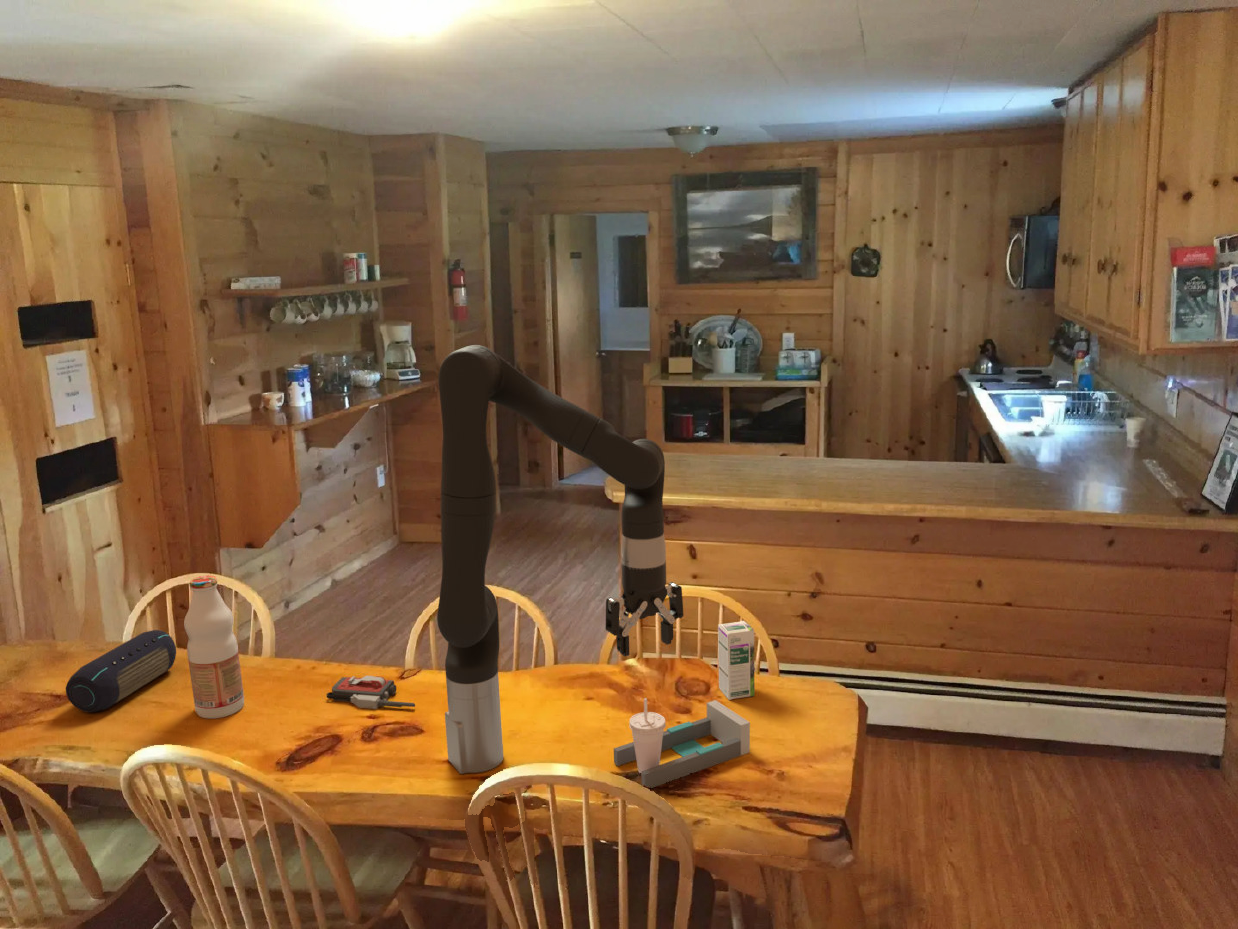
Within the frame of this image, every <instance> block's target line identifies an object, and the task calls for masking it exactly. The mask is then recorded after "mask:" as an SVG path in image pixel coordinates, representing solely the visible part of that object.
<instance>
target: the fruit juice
mask: <svg viewBox="0 0 1238 929" xmlns="http://www.w3.org/2000/svg"><path fill="white" fill-rule="evenodd" d="M189 584H190V585H189V586H190V590H192V595H191V599H190V604H189V607H188V611H187V613H186V615H185V617H184V622H183V623H184V626H183V627H184V631H185V633H186V634H187V637H188V642H187V645H186V653H187V661H188V666H189V667H188V668H189V674H190V680H191V688H192V689H191V690H192V696H193V704H194V709H195V713H196V714H197V715H198V716H199V717H200V718H202V719H221V718H225V717H229V716H232V715H233V714H236V713H237V712H239V711H241V709H242V708H243V707H244V706H245V693H244V688H243V687H244V686H243V677H242V670H241V662H240V654H239V647H238V645H239V644H238V641H237V640H238V639H237V638H236V636H235V634H234V631H233V626H234V616H233V615H234V614H233V612H232V610H231V608H229V607H228V606H227V605H226V603H225V601H224V599H223V598H222V595H221V594H220V592H219V591H218V589H217V587H218V579H217V577H216V576H214V575H209V574H208V575H201V576H196V577H194V578H193V579H191V580H190V582H189Z"/></svg>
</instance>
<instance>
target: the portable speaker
mask: <svg viewBox="0 0 1238 929" xmlns="http://www.w3.org/2000/svg"><path fill="white" fill-rule="evenodd" d="M176 656H177V647H176V644H175V641H174V640H173V637H172V636H171V635H169V634H168V633H167V632H166V631H163V630H161V629H152V630H149V631H148V630H147V631H144V632H142V633H140V634H137V635H136V636H135V637H133V638H130V639H129V640H127V641H125V642H124V643H122V644H120V645H118V646H115V648H113V649H111V650H110V651H107V652H106V653H104V654H102V655H101V656H99V657H97V658H95V659H94V660H92V661H90V662H88V663H86V664H84V665H82V666H80V667H79V669H78V670H76V672H74V673H73V674H71V676H70V677H69V679H68V681H67V683H66V686H65V695H66V697H67V699H68V701H69V702H70V703H71V704H72V706H73V707H75V708H77V709H78V710H80V711H82V712H85V713H95V712H96V713H97V712H100V711H104V710H107V709H110V708H111V707H112V706H114V705H115V704H116V703H119V701H121V700H124V698H126V697H128V696H129V695H131V694H133V693H134V692H136V691H137V690H139V689H140V688H142V687H144V686H145V685H147V684H148V683H150V682H152V681H153V680H155V679H156V678H158V677H160V676H161V675H163V674H164V673H166V672H168V671H169V670H170V669H172V667H173V665H174V663H175V661H176Z"/></svg>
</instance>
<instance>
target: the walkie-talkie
mask: <svg viewBox="0 0 1238 929" xmlns="http://www.w3.org/2000/svg"><path fill="white" fill-rule="evenodd" d="M396 694H397V685H396V684H395V680H392V679H386V678H384V677H383V676H375V675H364V676H363V677H356V676H355V675H353V676H352V677H351V676H349V677H348V676H345V677H341V678H340V679H339V680H338V681H337V682H336V683H335V684H334V685H333V686H332V688H331V691H330V692H327V693H326V695H325V696H326V698H327V699H331V700H333V701H334V702H344V703H352V704H353V705H355V707H357V708H360V709H361V708H362V709H372V710H377V709H378V708H380V707H395V708H402V707H410V708H411V707H412V708H416V704H415V703H414V702H406V701H393V700H388V699H389V698H390V697H391V696H395V695H396Z"/></svg>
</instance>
